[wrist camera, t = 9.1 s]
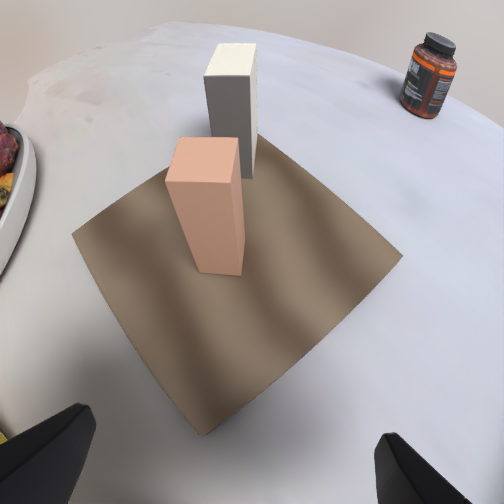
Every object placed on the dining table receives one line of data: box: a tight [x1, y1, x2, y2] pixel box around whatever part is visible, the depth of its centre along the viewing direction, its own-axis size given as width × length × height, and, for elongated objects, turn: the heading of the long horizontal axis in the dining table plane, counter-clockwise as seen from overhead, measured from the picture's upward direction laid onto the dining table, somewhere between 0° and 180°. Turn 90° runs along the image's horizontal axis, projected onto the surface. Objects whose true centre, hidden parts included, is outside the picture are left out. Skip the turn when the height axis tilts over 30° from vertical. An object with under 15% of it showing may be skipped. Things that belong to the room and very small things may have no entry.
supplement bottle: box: [400, 32, 457, 118], centre depth 30 cm, size 6×6×11 cm
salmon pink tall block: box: [165, 137, 245, 276], centre depth 19 cm, size 3×3×10 cm
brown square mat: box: [72, 133, 403, 437], centre depth 24 cm, size 20×20×1 cm
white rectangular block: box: [204, 43, 257, 179], centre depth 24 cm, size 6×3×10 cm, turn 175°
